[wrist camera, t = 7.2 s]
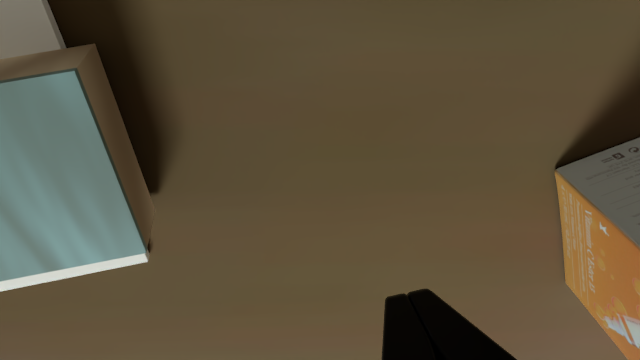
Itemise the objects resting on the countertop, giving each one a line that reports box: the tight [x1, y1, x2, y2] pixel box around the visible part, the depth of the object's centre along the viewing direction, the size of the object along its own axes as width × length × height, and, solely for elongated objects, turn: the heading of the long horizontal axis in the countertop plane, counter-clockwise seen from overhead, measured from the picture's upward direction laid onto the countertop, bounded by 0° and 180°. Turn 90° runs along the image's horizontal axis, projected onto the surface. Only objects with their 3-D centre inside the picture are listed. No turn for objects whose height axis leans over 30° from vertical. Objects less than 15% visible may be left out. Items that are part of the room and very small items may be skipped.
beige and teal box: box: [0, 44, 155, 282], centre depth 18 cm, size 3×7×8 cm
